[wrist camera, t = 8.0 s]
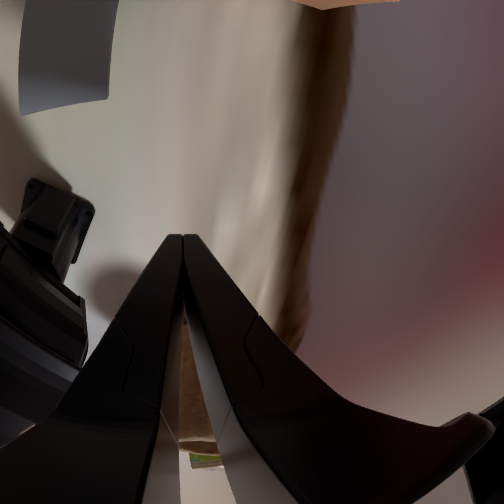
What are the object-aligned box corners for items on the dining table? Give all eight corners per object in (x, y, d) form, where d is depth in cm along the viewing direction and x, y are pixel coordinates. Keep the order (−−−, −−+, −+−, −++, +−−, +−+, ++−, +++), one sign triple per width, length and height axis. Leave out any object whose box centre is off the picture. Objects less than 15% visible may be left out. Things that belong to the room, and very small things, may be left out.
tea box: (232, 420, 67) (242, 467, 56) (198, 424, 66) (205, 471, 55) (223, 407, 56) (234, 465, 46) (182, 413, 55) (190, 470, 45)
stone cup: (148, 315, 28) (152, 451, 18) (254, 305, 31) (288, 435, 20) (171, 370, 38) (180, 463, 28) (246, 363, 41) (267, 453, 30)
